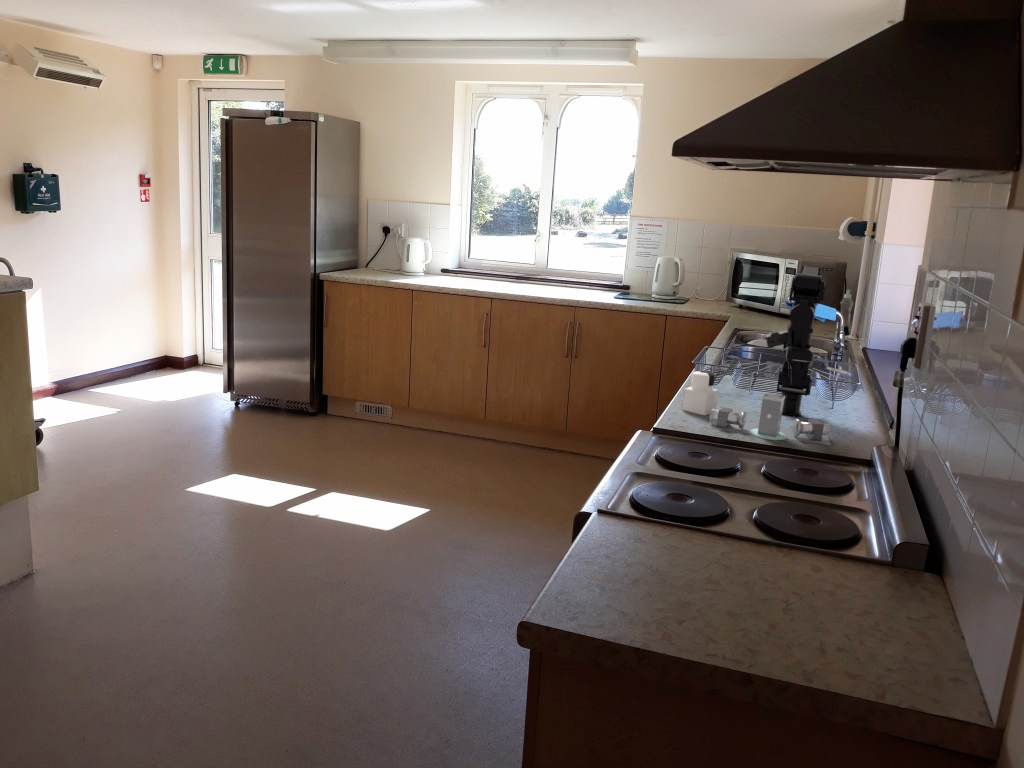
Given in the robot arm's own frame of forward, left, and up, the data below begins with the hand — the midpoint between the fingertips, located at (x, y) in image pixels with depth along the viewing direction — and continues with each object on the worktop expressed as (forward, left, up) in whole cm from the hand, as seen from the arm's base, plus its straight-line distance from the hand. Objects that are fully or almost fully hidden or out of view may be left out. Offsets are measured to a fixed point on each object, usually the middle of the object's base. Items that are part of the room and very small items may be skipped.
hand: (792, 381), depth 217 cm
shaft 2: (+10, +6, -12) cm, 17 cm away
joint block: (+13, -5, -12) cm, 18 cm away
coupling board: (+10, -5, -13) cm, 17 cm away
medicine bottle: (-3, -23, -13) cm, 27 cm away
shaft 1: (+10, -16, -12) cm, 22 cm away
